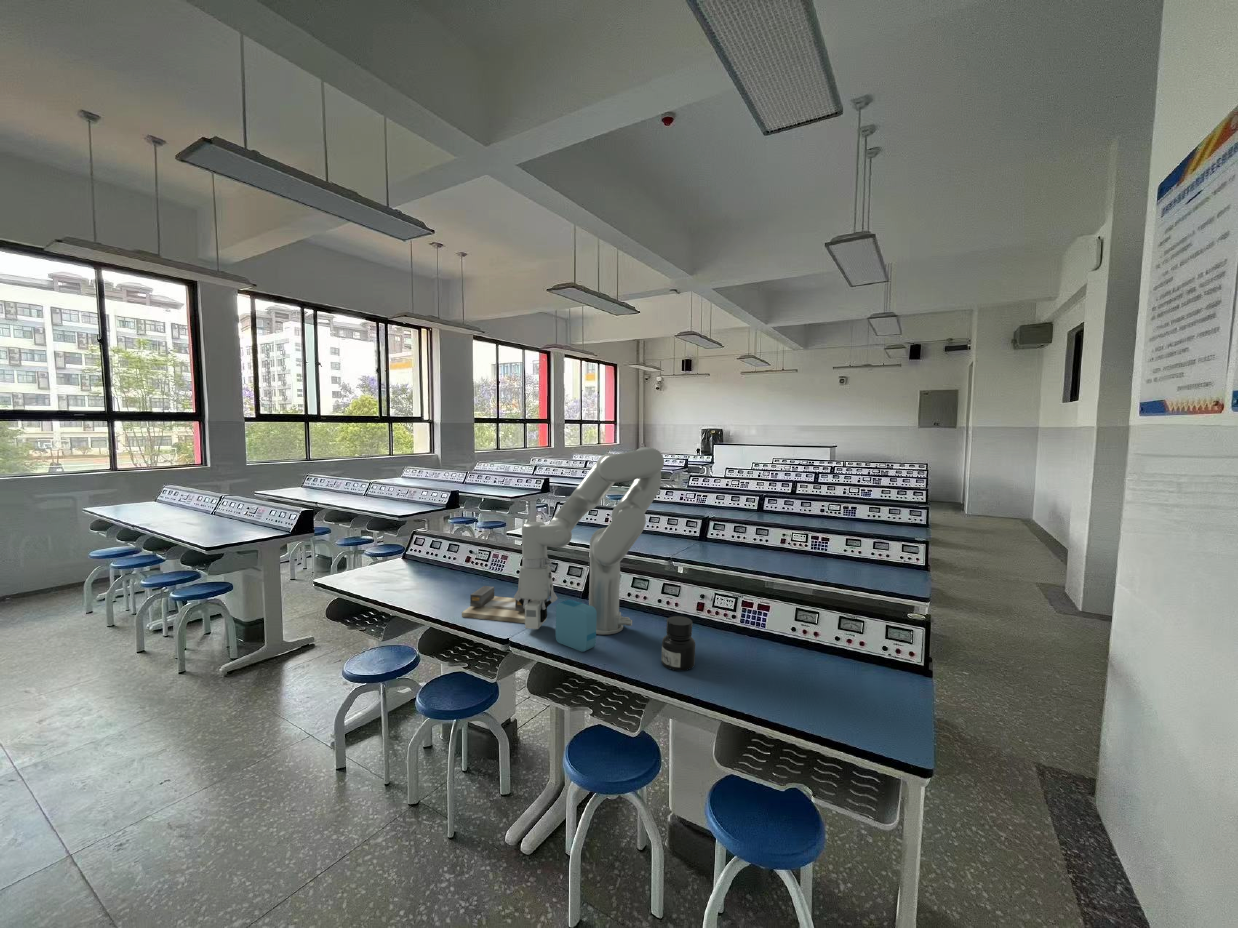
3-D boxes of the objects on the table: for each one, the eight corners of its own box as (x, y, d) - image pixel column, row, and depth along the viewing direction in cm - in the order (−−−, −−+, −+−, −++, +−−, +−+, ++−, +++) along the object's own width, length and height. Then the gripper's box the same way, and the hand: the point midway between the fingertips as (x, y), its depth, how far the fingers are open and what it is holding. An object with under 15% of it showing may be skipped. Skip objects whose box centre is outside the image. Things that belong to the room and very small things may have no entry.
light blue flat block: (596, 648, 144) (597, 607, 144) (585, 653, 141) (586, 611, 140) (565, 637, 152) (566, 598, 151) (555, 641, 148) (555, 601, 147)
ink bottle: (655, 658, 139) (656, 616, 138) (683, 654, 142) (685, 612, 141) (671, 674, 130) (672, 629, 129) (701, 670, 133) (703, 625, 132)
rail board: (543, 604, 179) (544, 587, 179) (525, 623, 162) (525, 603, 161) (485, 599, 183) (486, 582, 183) (461, 616, 166) (461, 597, 165)
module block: (546, 619, 160) (546, 597, 160) (537, 629, 152) (537, 606, 152) (534, 618, 161) (534, 597, 161) (525, 628, 153) (524, 606, 153)
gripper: (564, 560, 158) (565, 617, 159) (514, 558, 161) (515, 614, 162) (557, 566, 150) (558, 626, 152) (504, 564, 154) (505, 623, 155)
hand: (536, 619), depth 157 cm, fingers closed on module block, 4 cm apart
